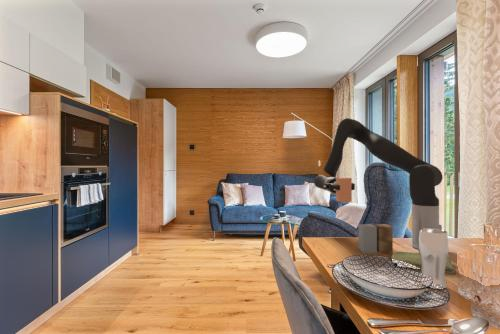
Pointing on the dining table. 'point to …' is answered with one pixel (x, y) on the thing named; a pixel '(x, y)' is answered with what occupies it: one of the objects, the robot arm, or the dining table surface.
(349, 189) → the terracotta block
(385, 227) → the walnut block
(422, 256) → the beer glass
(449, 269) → the washcloth
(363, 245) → the slate-grey block
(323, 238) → the dining table surface
